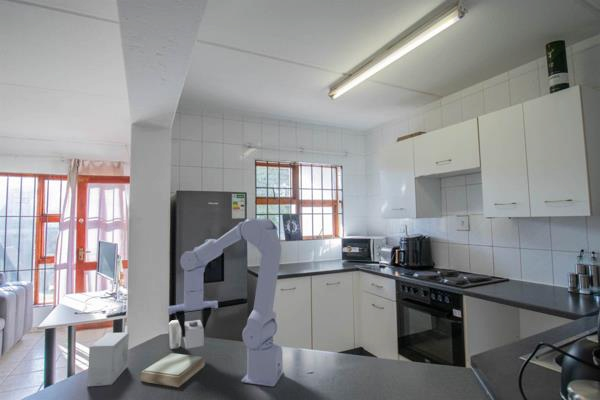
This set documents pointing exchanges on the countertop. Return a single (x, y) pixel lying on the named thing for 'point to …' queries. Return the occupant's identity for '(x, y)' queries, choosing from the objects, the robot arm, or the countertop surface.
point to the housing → (194, 334)
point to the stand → (173, 369)
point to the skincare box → (107, 359)
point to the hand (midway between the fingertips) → (193, 334)
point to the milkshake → (174, 334)
